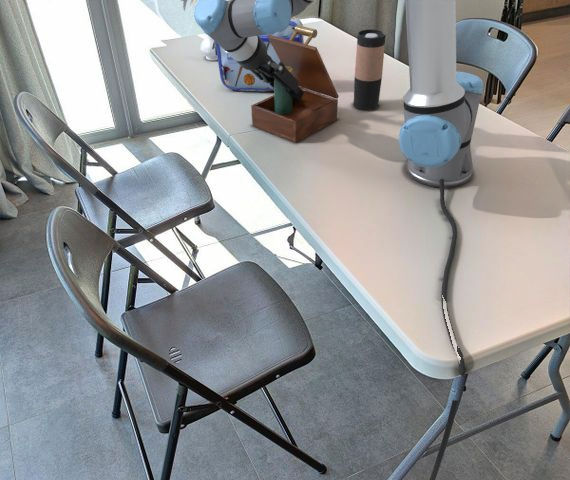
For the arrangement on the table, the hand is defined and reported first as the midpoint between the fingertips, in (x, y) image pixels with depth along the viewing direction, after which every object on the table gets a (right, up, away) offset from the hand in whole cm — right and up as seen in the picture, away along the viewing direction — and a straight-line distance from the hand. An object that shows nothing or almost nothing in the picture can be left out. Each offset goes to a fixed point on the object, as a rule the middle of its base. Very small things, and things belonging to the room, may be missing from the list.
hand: (292, 94), depth 145 cm
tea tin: (-2, -4, 0) cm, 5 cm away
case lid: (+3, +6, -1) cm, 7 cm away
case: (+1, -6, +6) cm, 8 cm away
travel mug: (+22, +1, +14) cm, 26 cm away
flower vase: (-27, +28, +45) cm, 60 cm away
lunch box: (-10, +11, +25) cm, 29 cm away
